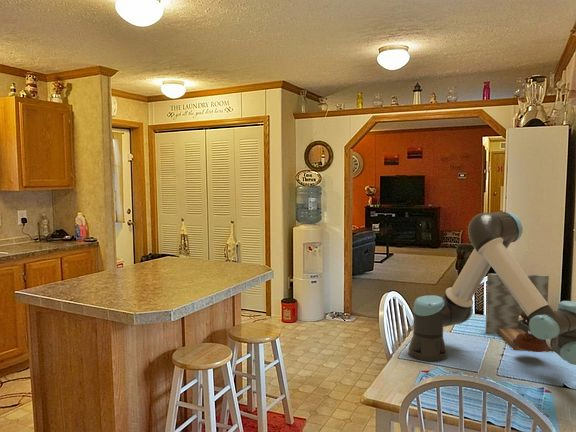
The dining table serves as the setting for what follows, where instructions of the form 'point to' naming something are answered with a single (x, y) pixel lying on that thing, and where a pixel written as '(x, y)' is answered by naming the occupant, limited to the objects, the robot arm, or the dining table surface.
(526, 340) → the brown curved piece
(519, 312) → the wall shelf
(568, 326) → the robot arm
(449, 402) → the dining table surface
